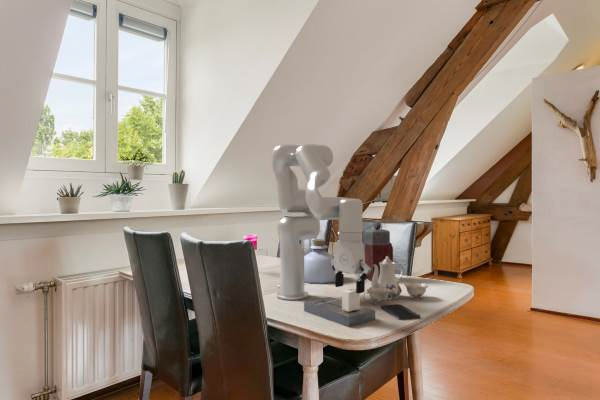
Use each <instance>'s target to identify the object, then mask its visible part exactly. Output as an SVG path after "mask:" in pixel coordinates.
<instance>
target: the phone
mask: <svg viewBox="0 0 600 400" xmlns="http://www.w3.org/2000/svg"><path fill="white" fill-rule="evenodd" d="M380 310H382V311H384V312H386V313H388V314H389V315H390V316H392V317H393V318H395V319H397V320H398V321H408V320H409V321H410V320H419V319H421V315H420V314H418V313H416V312H414V311H413V310H411V309H409V308H407V307H406V306H404V305H401V304H398V303H397V304H387V305H384V304H383V305H380Z"/></svg>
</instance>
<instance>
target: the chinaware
mask: <svg viewBox="0 0 600 400" xmlns="http://www.w3.org/2000/svg"><path fill="white" fill-rule="evenodd" d="M379 264H380V275H379V279H378V266H377V265H376V264H373V266H374V267H375V271H374V275H373V278H372V282H371V287H369V288H367V289H366V291H365V292H363V295H362V296H363V299H364V300H365V301H370V303H374V305H379V306H383V305H384V302H386V301H387V300H388V301H390V300H391V299H394V300H398V299H399V296H400V295H401V293H402V291H403V290H402V287H401V286H400V284H401V278H402V277H403V276H404V267H403V266H402V265H401V264H399V263H396V262H394V261H393V262H392V261H391V260H390V259H389V257H388V256H386V259H384V260H383V261H382V262H379ZM397 266H399V267H400V271H401V273H400V275H399V277H398V278H397V277H396V274H395V270H396V269H397ZM403 285H404V286H405V288H406V291H407V293H408V295H409V296H410V297H411V298H412V297H413V298H415V299H414V300H420V299H419V298H422V297H423V295H425V293H426V291H427V289H428V288H429V286H428V285H426V284H425V283H424V282H422V283H416V282H409V283H404V284H403ZM365 295H369V299H366V298H365ZM397 298H398V299H397ZM391 301H392V300H391Z"/></svg>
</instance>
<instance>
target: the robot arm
mask: <svg viewBox="0 0 600 400" xmlns="http://www.w3.org/2000/svg"><path fill="white" fill-rule="evenodd" d="M333 161H334V154H333V151H332V149H331V148H330V147H329V146H328V145H325V144H314V143H313V144H312V143H305V144H291V143H290V144H286V143H285V144H280V145H277V146H276V147H274V148H273V151H272V154H271V167H272V170H273V174H274V177H275V180H276V181H275V182H276V189H277V200H278V208H279V210H280V211H281V212H282V213H284V214H302V215H301V216H300V215H297V216H295V215H293V216H286V217H283V218H282V219H280V220H279V221H278V223H277V227H276V229H277V237H278V241H279V259H280V260H279V261H280V262H279V266H280V268H279V270H280V271H279V272H280V273H279V276H280V280H279V281H280V282H279V284H277V285H276V287H277V288H278V289H279V291H277V293H276V298H278V299H281V300H285V301H286V300H287V301H288V300H289V301H290V300H291V301H296V300H304V299H306V298H308V297H309V292H308V291H306V290H305V282H304V256H305V251H304V248H303V246H302V245H301V243H300V241H304V240H305V241H306V240H307V241H308V240H314V239H317V237H319V235H320V231H321V223H320V221H329V220H332V221H333V220H336V221H337V220H338V232H337V235H338V239H337V240H336V244H335V251H334V256H335V257H334V259H332V260H331V264H332V269H333V270H334V274H335V282H334V286H335V288H339V287H343V286H344V273H346V274H349V275H354V276H355V277H356V279H357V280H356V281H355V283H356V285H355V289H356V293H358V294H359V293H360V294H362V293H363V294H364V293H365V292H366V290H365V289H366V288H365V287H366V280H367V277H368V276H369V273H370V271H371V268H370V267H369V266H368V265H367V264H366V263H365V245H364V242H363V211H364V210H363V202H362V200H361V199H359V198H349V197H345V196H344V197H342V196H329V197H328V196H322V195H321V192H320V191H319V188H320V187H323V186H324V185H325V184H327V182H329V180H330V178H331V171H330V169H329V167H330V166H331V165H332V163H333ZM291 167H300V169H301V171H302V173H303V175H304V177H305V178H306V180H307V184H306V188H305V189H300V188H299V183H298V177H297V175H296V173H295V172H294V170H293V169H292V168H291Z"/></svg>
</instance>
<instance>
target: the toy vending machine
mask: <svg viewBox="0 0 600 400" xmlns="http://www.w3.org/2000/svg"><path fill="white" fill-rule="evenodd" d="M381 222H382V221H381V220H379V219H376V220H375V219H374V220H373V222H372V225H373V229H369V228H368V229H365V230H364V254H365V263H366V264H367V265H368V266H369V267H370V268H371V271H370V273H369V276H368V277H367V279H368V280H367V279H366V280H367V281H369V280H370V281H369V282H371V281H372V278H373V275H374V271H375V267H374V266H373V264H376V265H377V266H378V279H379V275H380V264H379V262H382V261H383V260H384V259H386V256H388V257H389V259H390V260H391V261H392V262H394V247H393V244H392V242H391V237H390V236H391V234H390V233H391V232H390V230H387V229H381V227H382V223H381Z"/></svg>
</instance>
